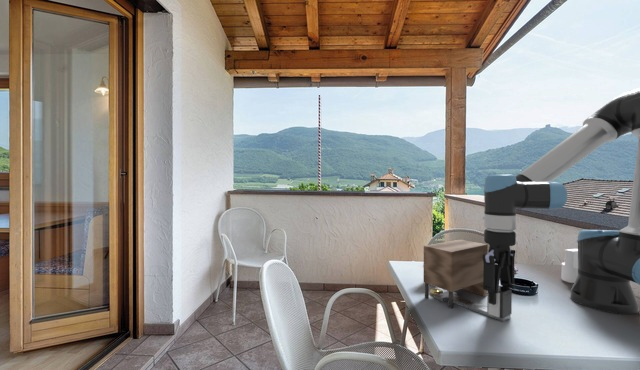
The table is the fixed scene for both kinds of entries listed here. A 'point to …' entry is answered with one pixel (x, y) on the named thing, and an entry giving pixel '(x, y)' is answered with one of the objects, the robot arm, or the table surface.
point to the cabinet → (455, 267)
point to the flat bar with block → (504, 305)
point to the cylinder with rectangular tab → (570, 266)
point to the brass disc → (435, 291)
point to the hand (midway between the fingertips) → (499, 312)
